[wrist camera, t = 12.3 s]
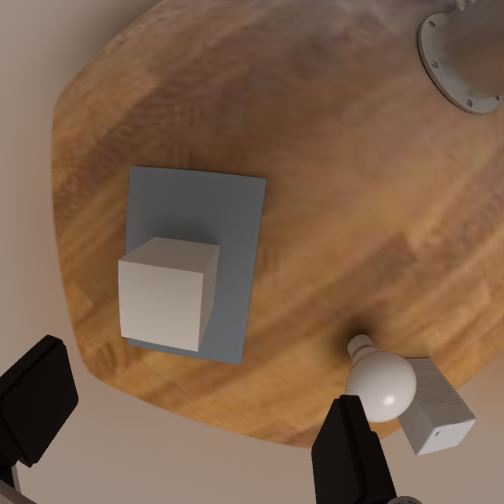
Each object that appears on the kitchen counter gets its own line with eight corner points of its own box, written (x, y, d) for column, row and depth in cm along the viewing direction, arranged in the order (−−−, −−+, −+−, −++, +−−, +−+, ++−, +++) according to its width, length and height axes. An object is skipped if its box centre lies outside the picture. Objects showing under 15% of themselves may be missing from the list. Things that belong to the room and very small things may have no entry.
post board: (136, 166, 25) (93, 165, 18) (266, 178, 25) (269, 179, 18) (133, 337, 30) (103, 380, 22) (241, 356, 30) (236, 408, 22)
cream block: (155, 236, 25) (118, 260, 18) (219, 245, 26) (203, 273, 18) (153, 296, 27) (121, 335, 20) (213, 306, 27) (197, 351, 20)
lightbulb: (317, 354, 30) (338, 429, 19) (351, 306, 28) (392, 370, 18) (361, 372, 30) (392, 441, 20) (395, 329, 29) (441, 390, 18)
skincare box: (379, 385, 31) (413, 457, 19) (391, 357, 30) (434, 427, 18) (418, 384, 31) (457, 446, 19) (431, 356, 30) (478, 417, 18)
